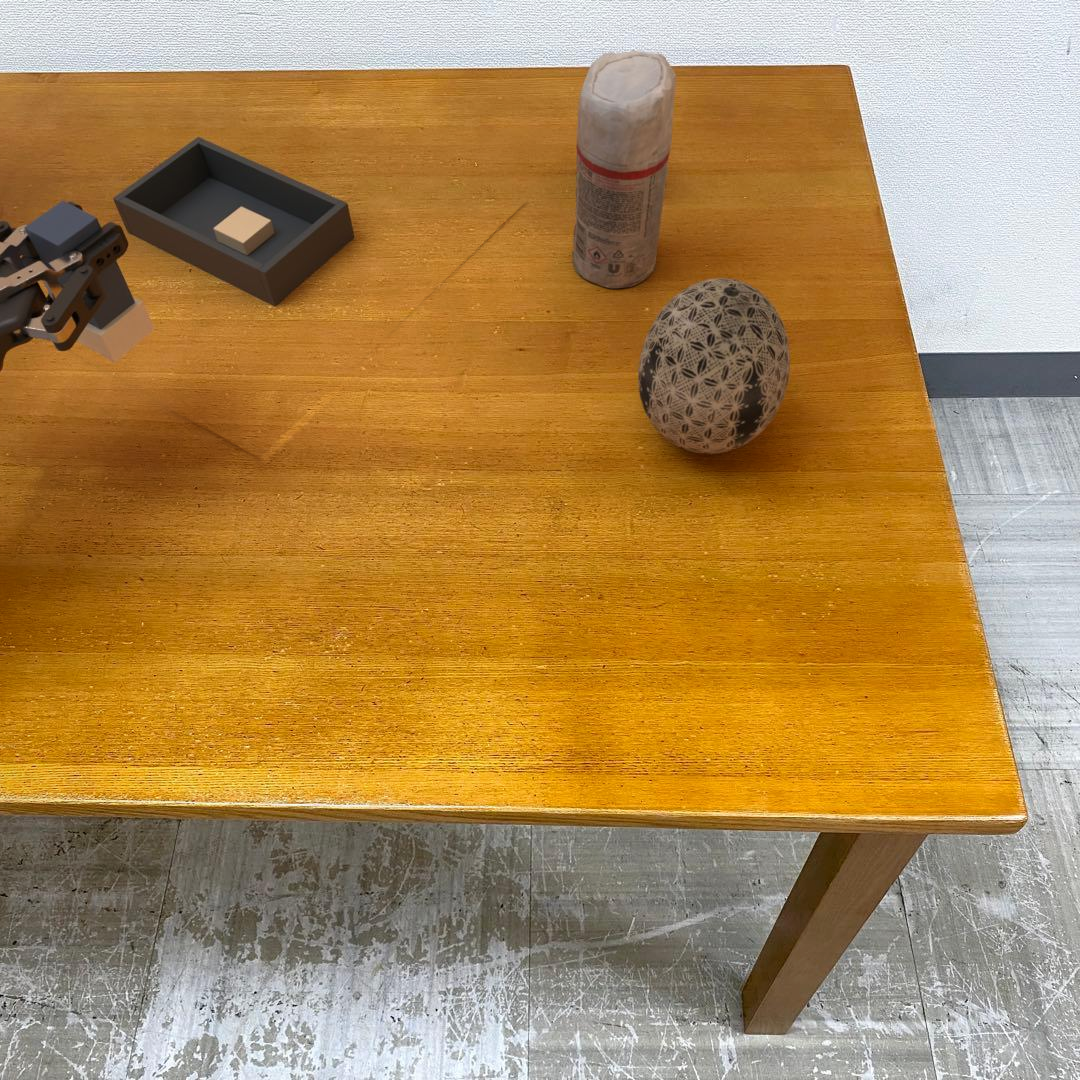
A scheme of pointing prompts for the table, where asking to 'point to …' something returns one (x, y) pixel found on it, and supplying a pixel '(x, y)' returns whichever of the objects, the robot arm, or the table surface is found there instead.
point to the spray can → (622, 166)
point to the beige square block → (244, 230)
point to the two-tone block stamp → (120, 312)
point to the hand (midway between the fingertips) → (100, 223)
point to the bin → (214, 194)
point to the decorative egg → (714, 366)
